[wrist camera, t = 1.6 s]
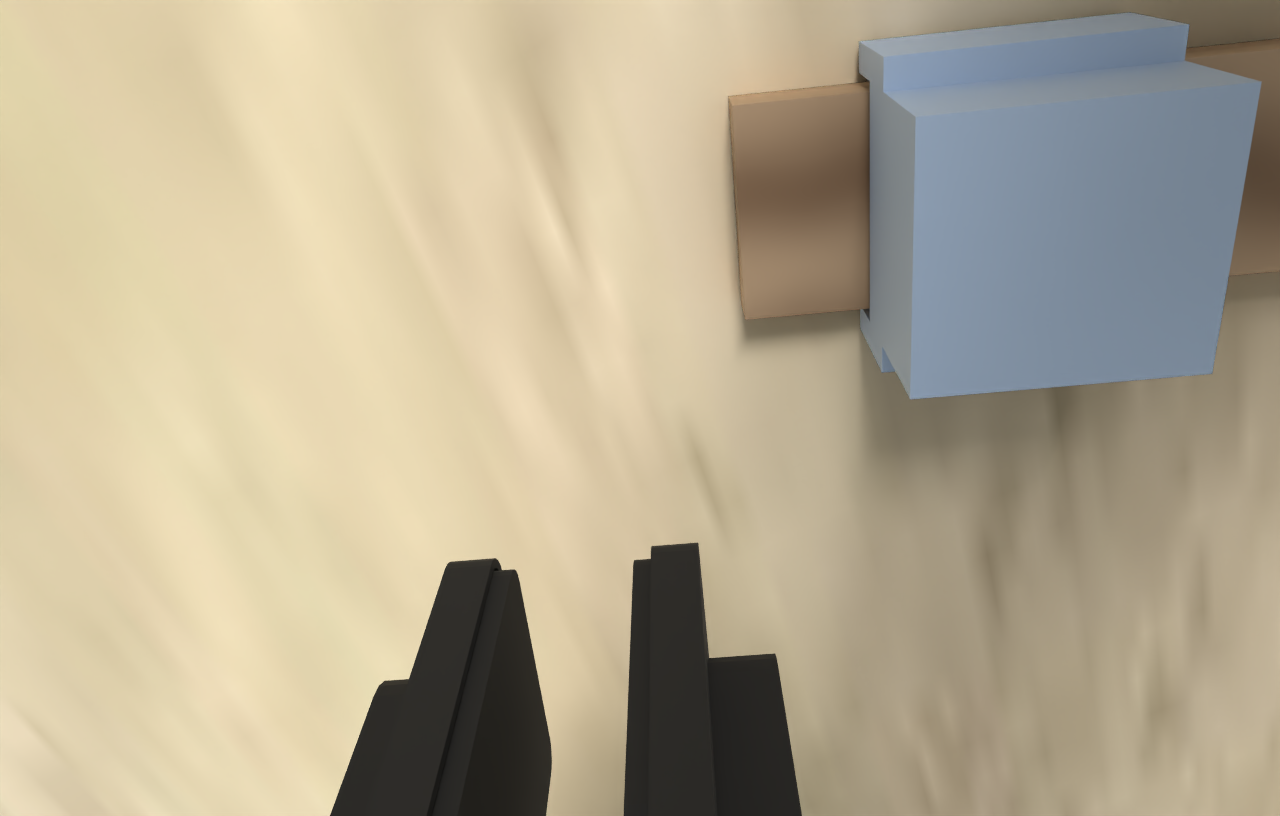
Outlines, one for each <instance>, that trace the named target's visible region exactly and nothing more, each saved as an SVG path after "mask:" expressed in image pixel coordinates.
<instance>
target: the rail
mask: <svg viewBox="0 0 1280 816" xmlns="http://www.w3.org/2000/svg"><path fill="white" fill-rule="evenodd" d="M1185 61H1188V62H1192V63H1195V64H1199V65H1203V66H1206V67H1210V68H1214V69H1217V70H1221V71H1225V72H1228V73H1232V74H1236V75H1239V76H1243V77H1247V78H1250V79H1254V80H1258V81H1261V82H1262V83H1261V89H1260V94H1259V100H1258V106H1257V112H1256V118H1255V124H1254V130H1253V136H1252V142H1251V148H1250V154H1249V159H1248V165H1247V171H1246V177H1245V183H1244V189H1243V195H1242V201H1241V207H1240V213H1239V218H1238V224H1237V230H1236V236H1235V242H1234V248H1233V254H1232V260H1231V266H1230V272H1229V276H1234V275H1245V274H1256V273H1267V272H1278V271H1280V39H1271V40H1262V41H1252V42H1242V43H1233V44H1223V45H1214V46H1204V47H1195V48H1186V54H1185ZM729 113H730V129H731V145H732V161H733V177H734V193H735V209H736V225H737V242H738V258H739V274H740V290H741V303H742V308H743V312H744V317H745V320H749V319H760V318H771V317H782V316H793V315H804V314H815V313H826V312H837V311H848V310H859V309H870V82H861V83H851V84H841V85H832V86H822V87H813V88H803V89H794V90H784V91H775V92H765V93H756V94H746V95H736V96H729Z"/></svg>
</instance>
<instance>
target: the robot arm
mask: <svg viewBox="0 0 1280 816" xmlns="http://www.w3.org/2000/svg"><path fill="white" fill-rule="evenodd" d="M551 767H552V756H551V743H550V737H549V731H548V726H547V721H546V716H545V711H544V706H543V701H542V695H541V690H540V685H539V680H538V675H537V670H536V665H535V659H534V654H533V649H532V644H531V639H530V634H529V628H528V623H527V618H526V613H525V608H524V603H523V598H522V592H521V587H520V582H519V578H518V574H517V572H516V570H502V569H501V565H500V563H499V561H498V560H497V559H496V558H494V559H481V560H468V561H455V562H450V563H448V564H447V566H446V568H445V571H444V574H443V577H442V580H441V583H440V586H439V589H438V592H437V595H436V598H435V601H434V605H433V608H432V611H431V614H430V617H429V620H428V623H427V626H426V629H425V632H424V635H423V638H422V641H421V644H420V647H419V650H418V653H417V656H416V660H415V663H414V666H413V669H412V672H411V675H410V678H409V679H405V680H391V681H384V682H383V683H382V684H381V685H379V687H378V689H377V691H376V693H375V695H374V697H373V700H372V702H371V705H370V708H369V711H368V713H367V716H366V719H365V722H364V724H363V727H362V730H361V733H360V735H359V738H358V741H357V744H356V746H355V749H354V752H353V754H352V757H351V760H350V763H349V765H348V768H347V771H346V774H345V776H344V779H343V782H342V785H341V787H340V790H339V793H338V796H337V798H336V801H335V804H334V806H333V809H332V812H331V815H330V816H546V810H547V802H548V794H549V786H550V778H551ZM624 816H802V814H801V807H800V801H799V795H798V789H797V782H796V776H795V770H794V763H793V757H792V751H791V745H790V738H789V732H788V726H787V720H786V713H785V707H784V701H783V695H782V688H781V682H780V676H779V669H778V664H777V658H776V655H775V654H763V655H749V656H734V657H720V658H709V653H708V642H707V631H706V620H705V610H704V599H703V588H702V578H701V567H700V556H699V547H698V543H689V544H676V545H663V546H652V547H651V559H645V560H634V564H633V589H632V615H631V641H630V666H629V692H628V718H627V744H626V770H625V796H624Z"/></svg>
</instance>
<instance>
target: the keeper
mask: <svg viewBox="0 0 1280 816" xmlns="http://www.w3.org/2000/svg"><path fill="white" fill-rule="evenodd" d="M1188 31H1189V24H1185V23H1180V22H1175V21H1170V20H1165V19H1160V18H1156V17H1151V16H1146V15H1141V14H1136V13H1131V12H1129V13H1119V14H1110V15H1101V16H1092V17H1082V18H1073V19H1064V20H1054V21H1045V22H1036V23H1026V24H1017V25H1008V26H998V27H989V28H980V29H970V30H961V31H952V32H942V33H933V34H924V35H914V36H905V37H896V38H886V39H877V40H868V41H859V73H860V74H861V75H862V76H864V77H865V78H866V79H867V80H869V81H870V309H860V329H861V331H862V333H863V335H864V337H865V339H866V341H867V343H868V345H869V347H870V349H871V351H872V354H873V356H874V358H875V360H876V362H877V364H878V366H879V368H880V370H881V372H882V373H883V372H895V371H896V373H897V375H898V377H899V379H900V381H901V383H902V385H903V387H904V389H905V391H906V393H907V394H908V396H909V398H910V399H922V398H933V397H945V396H957V395H969V394H981V393H992V392H1004V391H1016V390H1028V389H1039V388H1051V387H1063V386H1075V385H1087V384H1098V383H1110V382H1122V381H1134V380H1145V379H1157V378H1169V377H1181V376H1193V375H1204V374H1212V372H1213V366H1214V360H1215V354H1216V348H1217V342H1218V337H1219V331H1220V325H1221V319H1222V313H1223V307H1224V301H1225V295H1226V289H1227V283H1228V277H1229V272H1230V266H1231V260H1232V254H1233V248H1234V242H1235V236H1236V230H1237V224H1238V218H1239V213H1240V207H1241V201H1242V195H1243V189H1244V183H1245V177H1246V171H1247V165H1248V159H1249V154H1250V148H1251V142H1252V136H1253V130H1254V124H1255V118H1256V112H1257V106H1258V100H1259V94H1260V89H1261V83H1262V82H1261V81H1258V80H1254V79H1250V78H1247V77H1243V76H1239V75H1236V74H1232V73H1228V72H1225V71H1221V70H1217V69H1214V68H1210V67H1206V66H1203V65H1199V64H1195V63H1192V62H1188V61H1185V54H1186V46H1187V39H1188Z"/></svg>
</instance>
